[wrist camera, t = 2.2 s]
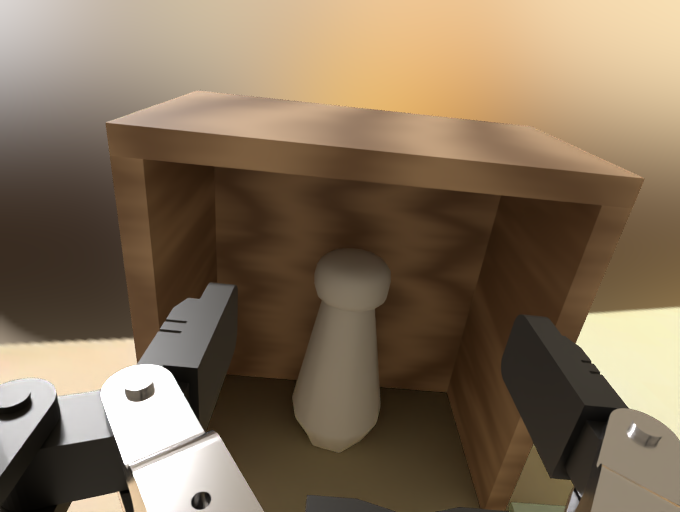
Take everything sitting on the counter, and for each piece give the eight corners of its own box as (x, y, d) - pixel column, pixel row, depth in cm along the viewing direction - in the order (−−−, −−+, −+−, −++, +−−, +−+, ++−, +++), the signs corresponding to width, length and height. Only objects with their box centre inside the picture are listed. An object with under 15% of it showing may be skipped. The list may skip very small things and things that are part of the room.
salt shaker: (365, 475, 27) (399, 295, 21) (277, 450, 28) (287, 271, 22) (381, 407, 32) (412, 247, 26) (306, 388, 33) (320, 230, 27)
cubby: (458, 382, 35) (532, 126, 26) (502, 516, 25) (644, 178, 17) (208, 362, 35) (197, 90, 26) (154, 491, 25) (105, 122, 16)
